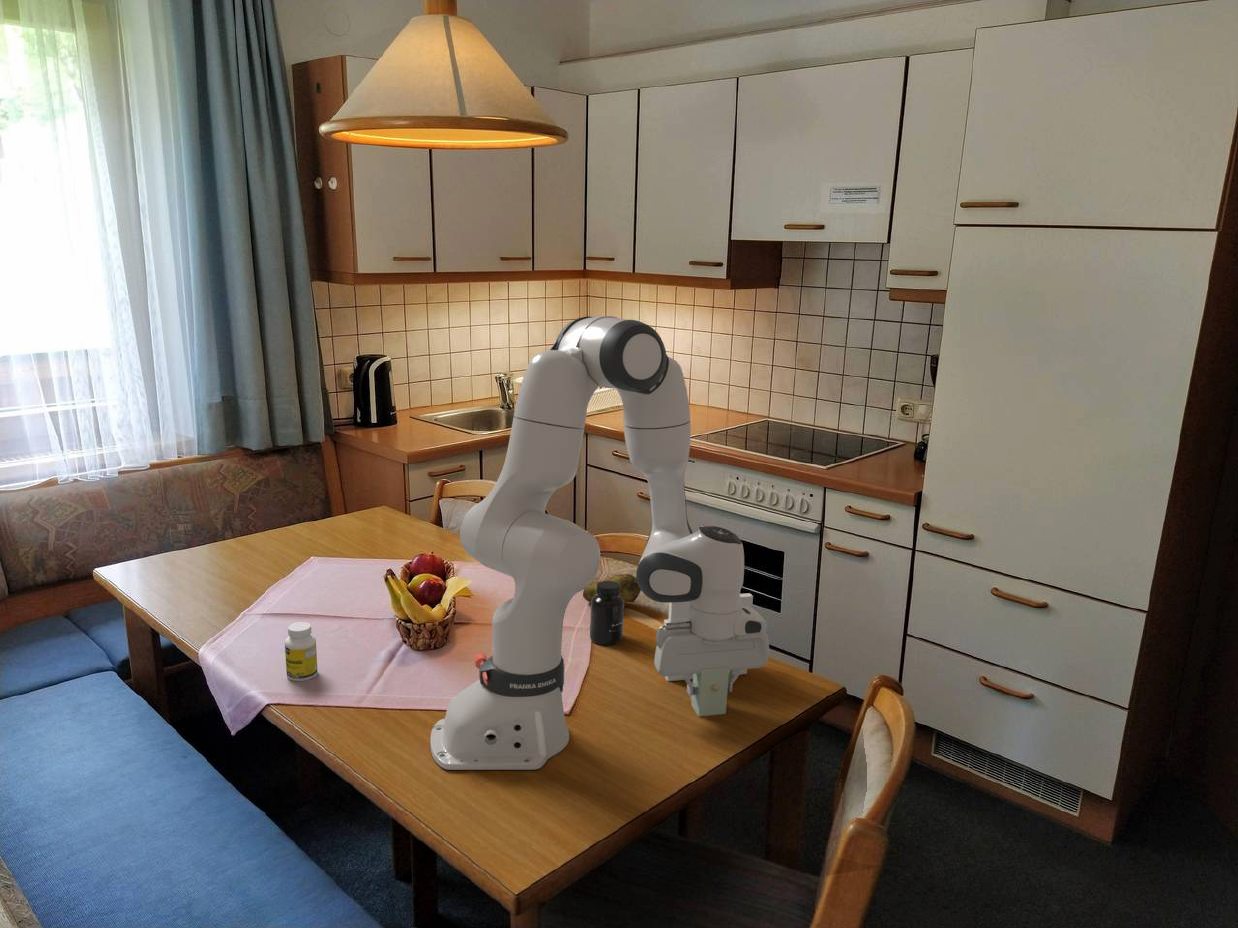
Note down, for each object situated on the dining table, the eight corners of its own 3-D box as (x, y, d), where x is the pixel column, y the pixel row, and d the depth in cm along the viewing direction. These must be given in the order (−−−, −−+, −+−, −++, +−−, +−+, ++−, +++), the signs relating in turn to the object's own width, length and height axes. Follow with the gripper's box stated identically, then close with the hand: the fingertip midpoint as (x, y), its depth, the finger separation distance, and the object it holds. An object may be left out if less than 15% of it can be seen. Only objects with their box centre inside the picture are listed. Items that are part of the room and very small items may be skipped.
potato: (600, 593, 208) (601, 560, 206) (646, 607, 201) (647, 574, 199) (578, 604, 202) (579, 570, 200) (624, 619, 195) (626, 585, 193)
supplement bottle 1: (280, 677, 164) (277, 627, 162) (303, 665, 169) (300, 617, 166) (301, 684, 162) (298, 635, 159) (324, 673, 166) (321, 624, 164)
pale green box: (700, 718, 155) (703, 671, 153) (688, 699, 162) (690, 654, 159) (727, 716, 157) (730, 669, 154) (714, 697, 163) (717, 652, 161)
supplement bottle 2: (619, 648, 181) (621, 592, 178) (586, 643, 182) (587, 588, 179) (625, 633, 187) (627, 580, 185) (593, 630, 189) (595, 576, 186)
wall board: (670, 686, 166) (675, 606, 162) (658, 667, 173) (663, 590, 169) (750, 678, 170) (757, 600, 166) (736, 660, 177) (741, 585, 173)
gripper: (662, 631, 149) (658, 706, 152) (775, 622, 154) (769, 695, 157) (651, 616, 155) (647, 688, 158) (761, 608, 160) (755, 678, 163)
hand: (709, 692), depth 158 cm, fingers closed on pale green box, 5 cm apart
